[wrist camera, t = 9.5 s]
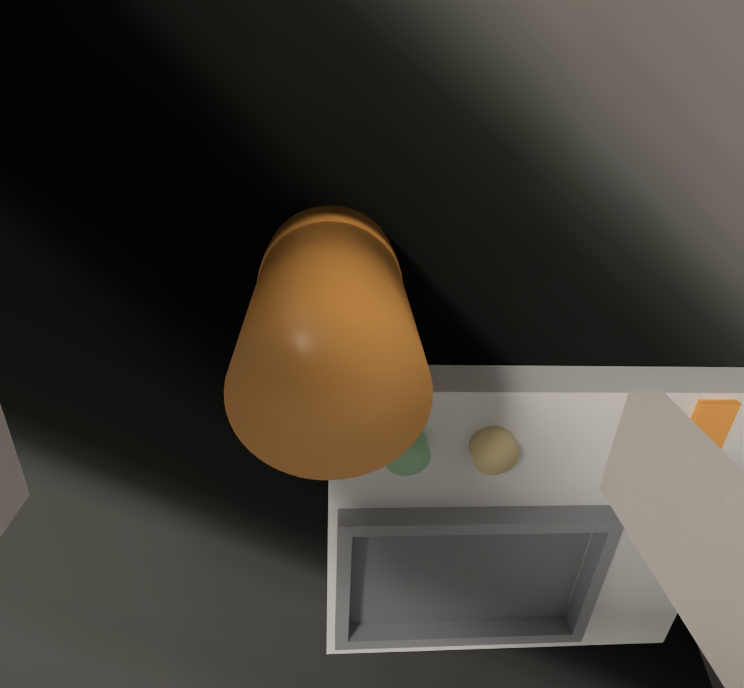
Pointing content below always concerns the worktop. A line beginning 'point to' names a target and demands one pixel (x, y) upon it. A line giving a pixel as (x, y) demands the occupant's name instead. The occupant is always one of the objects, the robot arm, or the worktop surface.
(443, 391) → the panel
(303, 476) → the cap
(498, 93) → the worktop surface
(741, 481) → the robot arm
